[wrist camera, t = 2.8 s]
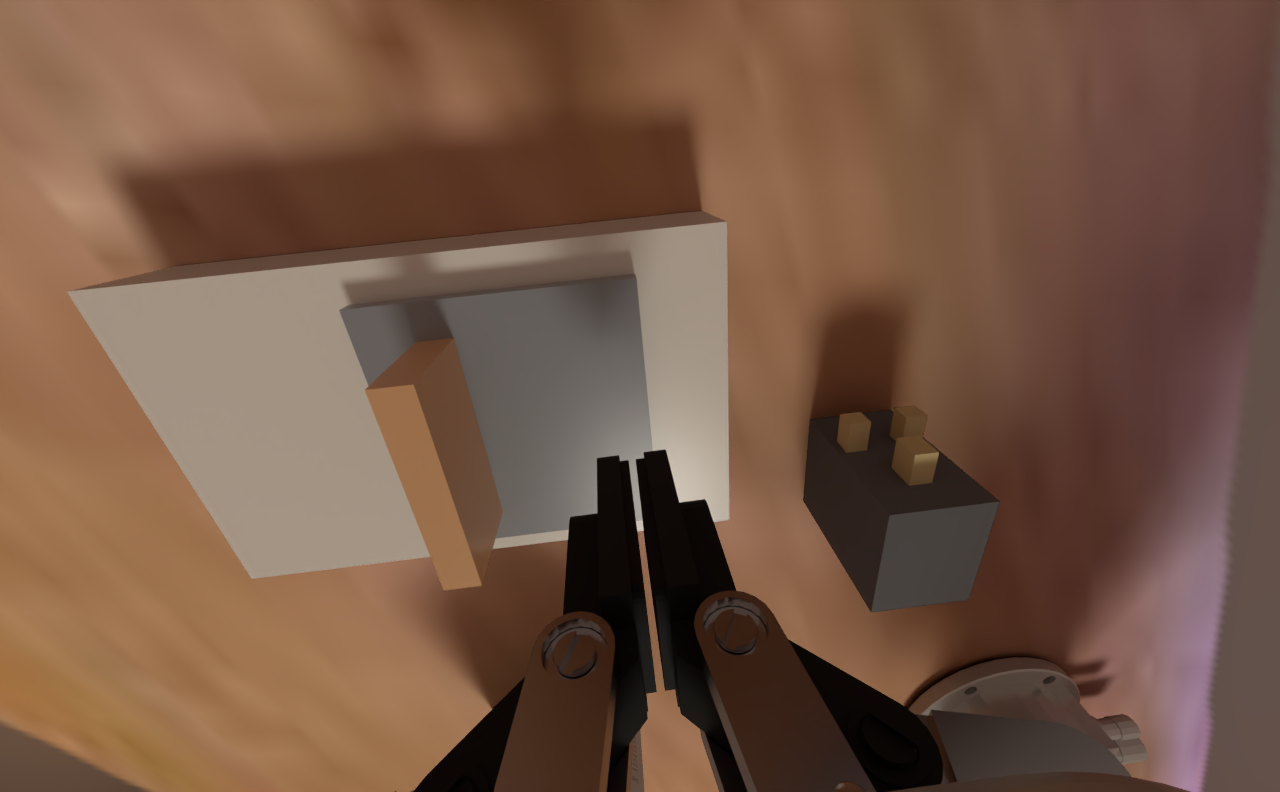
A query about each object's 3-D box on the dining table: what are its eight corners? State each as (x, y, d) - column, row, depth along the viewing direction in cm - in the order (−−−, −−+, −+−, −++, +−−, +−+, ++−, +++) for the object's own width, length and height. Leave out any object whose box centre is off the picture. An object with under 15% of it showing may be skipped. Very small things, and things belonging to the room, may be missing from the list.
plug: (894, 384, 22) (1010, 469, 16) (876, 491, 25) (968, 599, 19) (812, 393, 22) (895, 483, 16) (803, 500, 25) (871, 612, 19)
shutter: (635, 273, 15) (646, 308, 11) (657, 508, 19) (670, 590, 15) (348, 305, 15) (263, 351, 11) (435, 535, 19) (395, 625, 15)
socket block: (701, 210, 18) (726, 221, 14) (709, 465, 23) (729, 520, 20) (175, 266, 18) (66, 291, 14) (306, 514, 23) (251, 578, 19)
